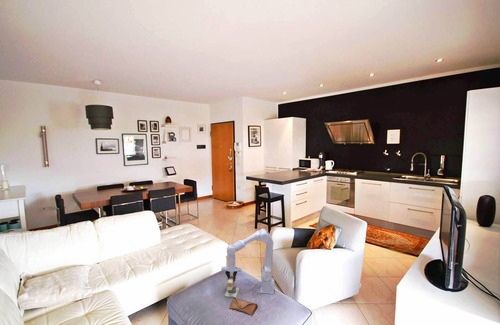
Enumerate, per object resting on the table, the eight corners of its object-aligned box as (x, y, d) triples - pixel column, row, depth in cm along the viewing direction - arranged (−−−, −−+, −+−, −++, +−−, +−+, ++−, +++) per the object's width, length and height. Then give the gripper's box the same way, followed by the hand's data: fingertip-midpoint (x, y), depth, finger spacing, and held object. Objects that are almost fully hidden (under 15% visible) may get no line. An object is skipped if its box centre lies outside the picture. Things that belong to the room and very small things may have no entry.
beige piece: (231, 290, 155) (231, 283, 154) (227, 289, 155) (227, 282, 155) (235, 279, 167) (235, 273, 166) (231, 279, 167) (231, 272, 167)
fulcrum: (239, 288, 166) (239, 284, 166) (236, 297, 156) (235, 293, 156) (228, 287, 168) (228, 283, 167) (224, 296, 158) (224, 292, 158)
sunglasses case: (227, 309, 146) (229, 297, 148) (231, 307, 151) (233, 296, 154) (253, 316, 139) (255, 304, 141) (256, 315, 145) (258, 303, 147)
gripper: (242, 260, 163) (242, 278, 164) (223, 258, 165) (223, 276, 166) (240, 265, 156) (240, 284, 157) (220, 263, 158) (220, 282, 160)
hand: (231, 280), depth 161 cm, fingers closed on beige piece, 3 cm apart
